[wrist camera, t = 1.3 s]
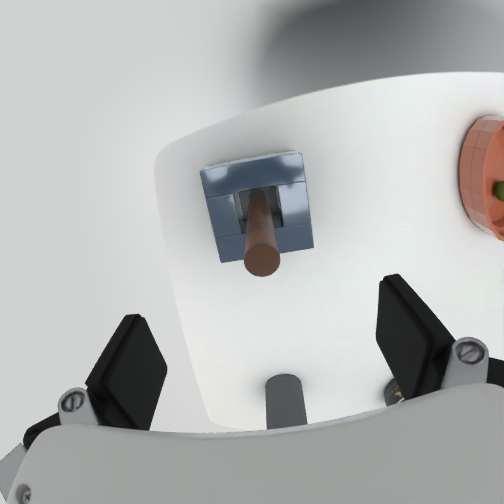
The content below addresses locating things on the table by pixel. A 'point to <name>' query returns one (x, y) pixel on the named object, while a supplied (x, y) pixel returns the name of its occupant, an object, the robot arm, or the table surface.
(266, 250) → the stick
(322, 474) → the robot arm
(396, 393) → the jar
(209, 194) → the holder
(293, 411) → the bottle
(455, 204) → the table surface
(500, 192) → the ball
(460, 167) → the bowl
